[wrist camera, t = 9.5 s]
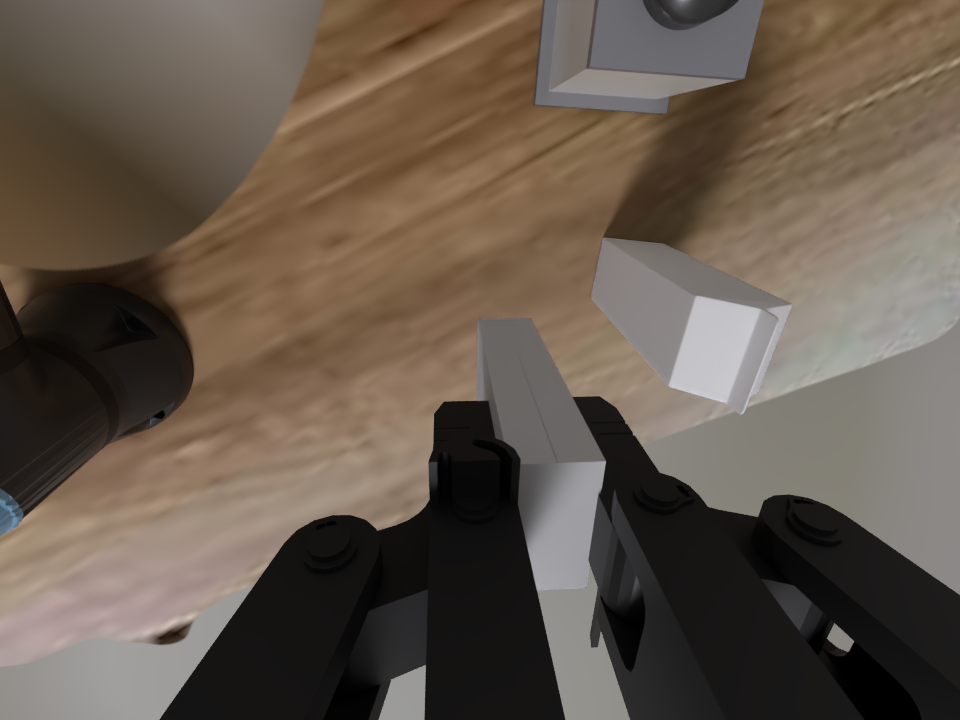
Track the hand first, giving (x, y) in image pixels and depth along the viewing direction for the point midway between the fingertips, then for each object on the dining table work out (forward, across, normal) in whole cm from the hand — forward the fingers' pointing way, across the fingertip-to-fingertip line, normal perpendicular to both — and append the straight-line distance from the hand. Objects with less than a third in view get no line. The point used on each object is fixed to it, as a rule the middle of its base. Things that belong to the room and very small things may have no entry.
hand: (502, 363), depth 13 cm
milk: (+32, +16, -5) cm, 36 cm away
